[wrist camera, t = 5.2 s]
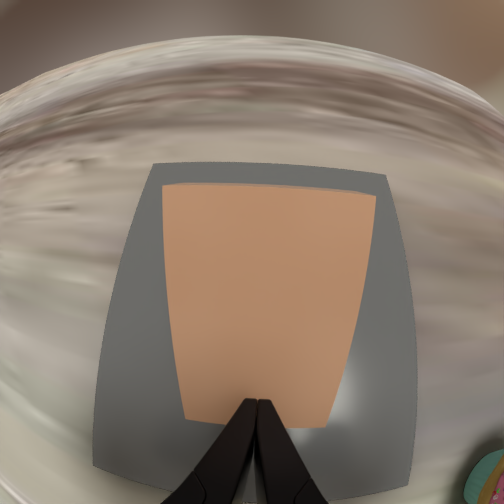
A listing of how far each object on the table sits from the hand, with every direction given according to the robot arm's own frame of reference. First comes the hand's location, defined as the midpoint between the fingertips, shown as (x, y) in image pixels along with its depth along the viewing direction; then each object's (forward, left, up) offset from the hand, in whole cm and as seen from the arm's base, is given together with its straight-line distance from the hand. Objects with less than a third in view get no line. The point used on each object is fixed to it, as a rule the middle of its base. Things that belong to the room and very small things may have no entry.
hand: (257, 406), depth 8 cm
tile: (0, -1, -6) cm, 6 cm away
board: (+2, +4, -7) cm, 9 cm away
